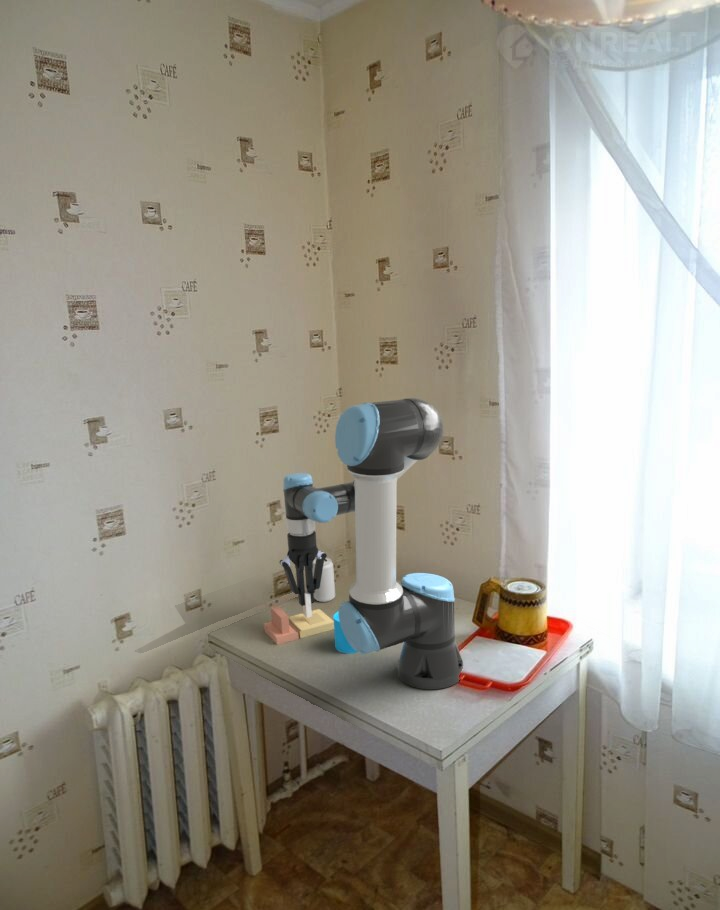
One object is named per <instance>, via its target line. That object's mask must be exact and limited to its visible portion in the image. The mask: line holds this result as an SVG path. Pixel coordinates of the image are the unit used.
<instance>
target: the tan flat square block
mask: <svg viewBox="0 0 720 910" xmlns="http://www.w3.org/2000/svg"><path fill="white" fill-rule="evenodd" d="M288 618H289V623H290V624H291V625H292V626H293V627H294V628H295V629H296V630H297V631H298V636H299V638H300V639H304V638H307V637H310V636H314V635H317V634H322V633H325V632H329V631H331V630H333V631H334V619H332V618H331V617H330V616H328V615H327V614H326V613H325V612H324V611H323V610H321V608H317V609H314V610H312V617H308V618H307V617H306V616H304V615H303V612H302V613H299V614H295V615H291V616H288Z"/></svg>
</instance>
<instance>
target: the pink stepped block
mask: <svg viewBox="0 0 720 910" xmlns="http://www.w3.org/2000/svg"><path fill="white" fill-rule="evenodd" d="M270 615H271V617H270V618H271V621H267V622H264V623H263V631H264V632H265V633H266V634H267V635H268V636H269V638H270V639H271V640H272V641H273V642H274V643H275V644H276V645H281V644H285V643H288V642H289V643H290V642H292V641H296V640H299V638H300V637H299V636H298V631H297V630H296V629H295V628H294V627H293V626H292V625H291V624H290V623H289V618H288V617H289V615H288V614H287V613H286V612H285V611H284V610H283V609H282V608H280V606H278V605H275V606H271V607H270Z"/></svg>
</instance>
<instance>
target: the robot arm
mask: <svg viewBox="0 0 720 910" xmlns="http://www.w3.org/2000/svg"><path fill="white" fill-rule="evenodd" d="M444 430H445V427H444V421H443V419H442V416H441V414H440V412H439V411H438V410H437V409H436V407H434V406H433V405H432V404H431V403H429V402H427V401H425V400H423V399H421V398H413V397H410V398H409V397H408V398H403V399H395V400H394V399H393V400H385V401H384V400H383V401H375V402H363V403H362V404H357V405H351V406H349V407H347V408H346V409H345V410H344V411H343V412H342V414H341V415H340V416H339V418H338V420H337V424H336V427H335V434H334V443H335V448H336V450H337V456H338V458H339V459H340V461H341V462H342V463H343V465H346V468H347V471H348V472H349V473H350V474H351V475H352V476H353V477H354V480H353V481H350V482H345V483H341V484H340V483H339V484H335V485H329V486H323V487H318V488H317V487H314V482H313V477H312V476H311V474H309V473H307V472H296V473H291V474H287V475H285V476H284V478H283V490H282V491H283V497H284V498H283V499H284V510H285V520H286V521H285V523H286V532H287V546H288V547H287V548H288V551H287V553H286V554H287V555H286V557H285V558H284V559H280V560H279V564H280V565H281V567H282V568H283V570H284V573H285V576H286V579H287V582H288V585H289V588H290V590H291V592H292V593H293V594H295V595H298V604H299V605H300V606H301V607H302V613H303V615H304V616H306V617H307V618H308V617H312V611H313V610H312V604H314V603H315V599H314V593H315V591H314V590H316V589H319V588H320V583H321V576H322V570H323V564H324V561H325V559H326V558H328V554H327V553H325V552H324V551H321V550H319V548H318V546H317V533H316V523H322V524H325V523H329V522H330V521H332V520H333V519H334V518H335V517H336V516H340V515H345V514H349V513H354V519H355V520H354V522H355V523H354V524H355V525H354V526H355V527H354V529H355V530H354V532H355V533H354V534H355V535H354V537H355V539H354V540H355V543H354V544H355V582H353V583H352V584H351V585H350V586H349V589H348V601H346V600H345V601H343V602H341V604H340V605H339V606H338V611H339V620H340V624H341V628H342V630H343V633H344V635H345V637H346V639H347V641H348V642H349V644H350V645H351V646H352V648H353V649H354V650H355V651H357V652H356V653H359V654H362V655H366V654H369V653H375V652H376V653H378V652H380V650H384V649H387V648H390V647H393V646H396V645H399V644H402V643H403V644H402V649H401V652H400V655H399V659H398V662H397V675H398V677H399V679H400V680H401V681H402V682H403V683H404V684H406V685H408V686H410V687H413V688H417V689H422V690H442V689H445V688H449V687H452V686H455V685H456V684H457V683H459V682H460V681H459V675H460V673H461V671H462V669H463V666H464V661H463V658H462V656H461V654H460V650H459V648H458V645H457V642H456V630H455V629H456V627H455V622H456V621H455V602H456V601H455V600H456V599H455V595H454V594H455V591H454V585H453V583H452V582H451V581H450V580H448V579H447V578H446V577H444V576H441V575H438V574H433V573H427V572H413V573H408V574H405V575H404V576H402V578H401V581H400V583H399V582H398V581H397V513H398V512H397V511H398V510H397V507H398V505H397V503H398V501H397V495H398V494H397V493H398V492H397V487H398V486H397V484H398V482H397V481H398V480H399V478H401V477H402V476H403V475H404V474H405V473H406V472H407V471H408V470H410V468H412V467H413V465H414V464H415V463H416V462H418V461H423V460H425V459H427V458H429V457H430V456H431V454H433V453H434V452H435V451H436V450H437V449H438V447H439V446H440V444H441V443H442V440H443V437H444V433H445V432H444ZM315 559H316V564H315V570H314V576H313V571H312V568H313V561H314V560H315ZM291 562H292V564H293V565H294V568H295V575H296V576H295V577H296V580H295V577H294V574H293V571H292V568H291V567H290V566H291ZM304 574H305V575H304Z"/></svg>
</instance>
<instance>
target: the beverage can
mask: <svg viewBox="0 0 720 910" xmlns="http://www.w3.org/2000/svg"><path fill="white" fill-rule="evenodd" d="M316 559H317V558H315V559H314V561H313V568H312V571H313V576H314V570H315V564H316ZM334 570H335V569H334V563H333V561H332V559H331V558H330V557H326V559H325V561H324V564H323V570H322V576H321V583H320V588H319V589H316V590H314V591H315V593H314V600H316V602H318V601H319V603H327V602H331V601H332V600H333V599H335V597H336V588H335V587H336V586H335V575H334Z"/></svg>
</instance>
